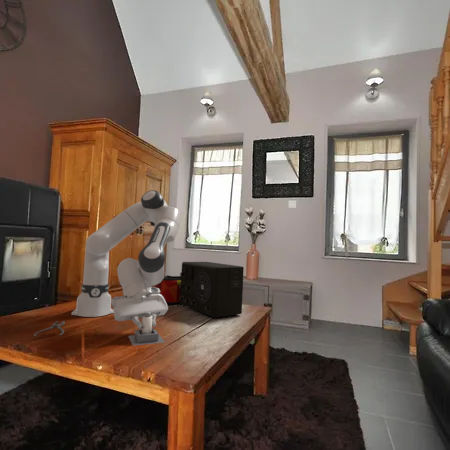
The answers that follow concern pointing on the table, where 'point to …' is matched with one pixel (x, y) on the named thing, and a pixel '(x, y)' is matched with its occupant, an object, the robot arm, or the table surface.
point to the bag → (170, 289)
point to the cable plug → (147, 323)
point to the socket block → (145, 338)
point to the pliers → (53, 327)
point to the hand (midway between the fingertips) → (147, 326)
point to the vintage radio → (212, 288)
